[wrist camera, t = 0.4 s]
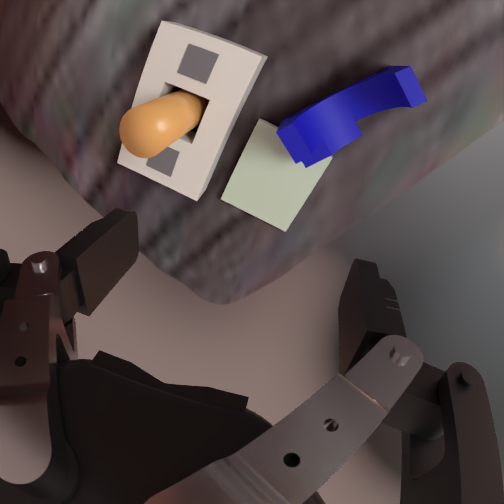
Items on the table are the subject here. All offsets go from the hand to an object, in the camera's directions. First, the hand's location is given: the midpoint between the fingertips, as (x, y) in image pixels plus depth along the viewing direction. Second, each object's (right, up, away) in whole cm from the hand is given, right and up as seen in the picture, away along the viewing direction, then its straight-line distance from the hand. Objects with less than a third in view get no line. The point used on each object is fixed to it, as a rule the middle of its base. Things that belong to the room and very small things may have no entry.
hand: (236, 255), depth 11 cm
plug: (-6, +15, +18) cm, 24 cm away
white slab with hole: (-6, +15, +18) cm, 24 cm away
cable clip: (+10, +13, +16) cm, 23 cm away
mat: (+3, +8, +21) cm, 23 cm away
